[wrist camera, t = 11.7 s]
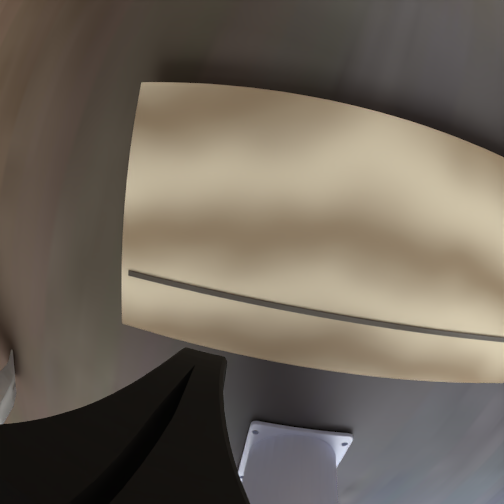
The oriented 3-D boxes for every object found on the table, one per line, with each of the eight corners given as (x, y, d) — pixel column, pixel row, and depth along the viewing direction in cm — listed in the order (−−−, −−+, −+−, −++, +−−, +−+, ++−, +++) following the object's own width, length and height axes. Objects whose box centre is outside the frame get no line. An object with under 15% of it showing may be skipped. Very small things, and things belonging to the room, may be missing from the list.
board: (529, 368, 17) (540, 381, 15) (136, 309, 20) (121, 324, 18) (584, 209, 13) (600, 214, 11) (157, 89, 16) (140, 81, 14)
